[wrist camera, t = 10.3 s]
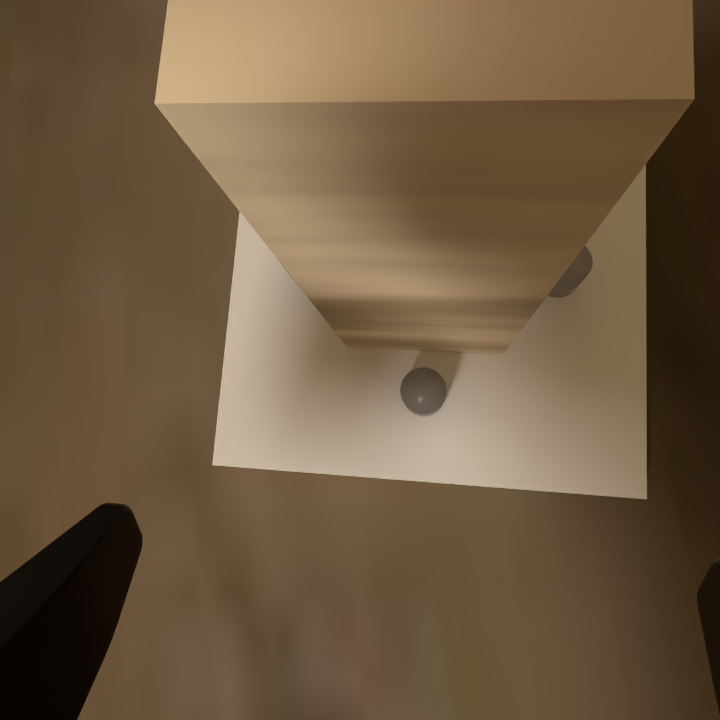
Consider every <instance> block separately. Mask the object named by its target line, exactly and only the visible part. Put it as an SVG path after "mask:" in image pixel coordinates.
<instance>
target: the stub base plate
mask: <svg viewBox="0 0 720 720" xmlns="http://www.w3.org/2000/svg"><path fill="white" fill-rule="evenodd" d="M212 465H218V466H231V467H244V468H256V469H269V470H282V471H294V472H307V473H320V474H332V475H345V476H358V477H370V478H383V479H396V480H409V481H421V482H434V483H447V484H459V485H472V486H485V487H497V488H510V489H523V490H535V491H548V492H561V493H574V494H586V495H599V496H612V497H624V498H637V499H647V383H646V165H645V166H644V167H643V169H642V170H641V171H640V173H639V174H638V175H637V177H636V178H635V179H634V181H633V182H632V183H631V185H630V186H629V187H628V189H627V190H626V191H625V193H624V194H623V195H622V197H621V198H620V199H619V201H618V202H617V203H616V205H615V206H614V207H613V209H612V210H611V211H610V213H609V214H608V215H607V217H606V218H605V219H604V221H603V222H602V223H601V225H600V226H599V227H598V229H597V230H596V231H595V233H594V234H593V235H592V237H591V238H590V239H589V241H588V242H587V243H586V245H585V246H584V247H583V249H582V250H581V251H580V253H579V254H578V255H577V257H576V258H575V259H574V261H573V262H572V263H571V265H570V266H569V267H568V269H567V270H566V271H565V273H564V274H563V275H562V277H561V278H560V279H559V281H558V282H557V283H556V285H555V286H554V287H553V289H552V290H551V291H550V293H549V294H548V295H547V297H546V298H545V299H544V301H543V302H542V303H541V305H540V306H539V307H538V309H537V310H536V311H535V313H534V314H533V315H532V317H531V318H530V319H529V321H528V322H527V323H526V325H525V326H524V327H523V329H522V330H521V331H520V333H519V334H518V336H517V337H516V338H515V340H514V341H513V342H512V344H511V345H510V346H509V348H508V349H507V350H506V352H505V353H504V354H503V355H499V354H478V353H456V352H435V351H414V350H392V349H371V348H350V347H347V346H346V345H345V344H344V343H343V341H342V340H341V339H340V337H339V336H338V335H337V334H336V332H335V331H334V330H333V329H332V327H331V326H330V325H329V324H328V322H327V321H326V320H325V319H324V317H323V316H322V315H321V313H320V312H319V311H318V310H317V308H316V307H315V306H314V305H313V303H312V302H311V301H310V300H309V298H308V297H307V296H306V295H305V293H304V292H303V291H302V289H301V288H300V287H299V286H298V284H297V283H296V282H295V281H294V279H293V278H292V277H291V276H290V274H289V273H288V272H287V270H286V269H285V268H284V267H283V265H282V264H281V263H280V262H279V260H278V259H277V258H276V257H275V255H274V254H273V253H272V252H271V250H270V249H269V248H268V246H267V245H266V244H265V243H264V241H263V240H262V239H261V238H260V236H259V235H258V234H257V233H256V231H255V230H254V229H253V227H252V226H251V225H250V224H249V222H248V221H247V220H246V219H245V217H244V216H243V215H242V214H241V212H240V214H239V223H238V232H237V242H236V251H235V260H234V269H233V279H232V288H231V297H230V307H229V316H228V325H227V334H226V344H225V353H224V362H223V371H222V381H221V390H220V399H219V408H218V418H217V427H216V436H215V445H214V455H213V464H212Z"/></svg>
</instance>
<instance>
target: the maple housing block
mask: <svg viewBox="0 0 720 720" xmlns="http://www.w3.org/2000/svg"><path fill="white" fill-rule="evenodd" d="M694 99H695V91H694V42H693V0H168V6H167V13H166V21H165V29H164V36H163V44H162V51H161V59H160V66H159V74H158V81H157V89H156V96H155V105H156V106H157V107H158V109H159V110H160V111H161V112H162V114H163V115H164V116H165V117H166V119H167V120H168V121H169V123H170V124H171V125H172V126H173V128H174V129H175V130H176V131H177V133H178V134H179V135H180V136H181V138H182V139H183V140H184V142H185V143H186V144H187V145H188V147H189V148H190V149H191V150H192V152H193V153H194V154H195V155H196V157H197V158H198V159H199V160H200V162H201V163H202V164H203V166H204V167H205V168H206V169H207V171H208V172H209V173H210V174H211V176H212V177H213V178H214V179H215V181H216V182H217V183H218V184H219V186H220V187H221V188H222V190H223V191H224V192H225V193H226V195H227V196H228V197H229V198H230V200H231V201H232V202H233V203H234V205H235V206H236V207H237V209H238V210H239V211H240V212H241V214H242V215H243V216H244V217H245V219H246V220H247V221H248V222H249V224H250V225H251V226H252V227H253V229H254V230H255V231H256V233H257V234H258V235H259V236H260V238H261V239H262V240H263V241H264V243H265V244H266V245H267V246H268V248H269V249H270V250H271V252H272V253H273V254H274V255H275V257H276V258H277V259H278V260H279V262H280V263H281V264H282V265H283V267H284V268H285V269H286V270H287V272H288V273H289V274H290V276H291V277H292V278H293V279H294V281H295V282H296V283H297V284H298V286H299V287H300V288H301V289H302V291H303V292H304V293H305V295H306V296H307V297H308V298H309V300H310V301H311V302H312V303H313V305H314V306H315V307H316V308H317V310H318V311H319V312H320V313H321V315H322V316H323V317H324V319H325V320H326V321H327V322H328V324H329V325H330V326H331V327H332V329H333V330H334V331H335V332H336V334H337V335H338V336H339V337H340V339H341V340H342V341H343V343H344V344H345V345H346V346H347V347H350V348H371V349H392V350H414V351H435V352H456V353H478V354H499V355H503V354H504V353H505V352H506V350H507V349H508V348H509V346H510V345H511V344H512V342H513V341H514V340H515V338H516V337H517V336H518V334H519V333H520V331H521V330H522V329H523V327H524V326H525V325H526V323H527V322H528V321H529V319H530V318H531V317H532V315H533V314H534V313H535V311H536V310H537V309H538V307H539V306H540V305H541V303H542V302H543V301H544V299H545V298H546V297H547V295H548V294H549V293H550V291H551V290H552V289H553V287H554V286H555V285H556V283H557V282H558V281H559V279H560V278H561V277H562V275H563V274H564V273H565V271H566V270H567V269H568V267H569V266H570V265H571V263H572V262H573V261H574V259H575V258H576V257H577V255H578V254H579V253H580V251H581V250H582V249H583V247H584V246H585V245H586V243H587V242H588V241H589V239H590V238H591V237H592V235H593V234H594V233H595V231H596V230H597V229H598V227H599V226H600V225H601V223H602V222H603V221H604V219H605V218H606V217H607V215H608V214H609V213H610V211H611V210H612V209H613V207H614V206H615V205H616V203H617V202H618V201H619V199H620V198H621V197H622V195H623V194H624V193H625V191H626V190H627V189H628V187H629V186H630V185H631V183H632V182H633V181H634V179H635V178H636V177H637V175H638V174H639V173H640V171H641V170H642V169H643V167H644V166H645V165H646V163H647V162H648V161H649V159H650V158H651V157H652V155H653V154H654V153H655V151H656V150H657V149H658V147H659V146H660V145H661V143H662V142H663V141H664V139H665V138H666V136H667V135H668V134H669V132H670V131H671V130H672V128H673V127H674V126H675V124H676V123H677V122H678V120H679V119H680V118H681V116H682V115H683V114H684V112H685V111H686V110H687V108H688V107H689V106H690V104H691V103H692V102H693V100H694Z"/></svg>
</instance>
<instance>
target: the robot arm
mask: <svg viewBox="0 0 720 720" xmlns="http://www.w3.org/2000/svg"><path fill="white" fill-rule="evenodd" d="M142 541H143V540H142V534H141V531H140V529H139V526H138V524H137V521H136V519H135V516H134V514H133V511H132V509H131V508H130V507H129V506H128V505H125V504H115V503H105V504H102V505H100V506H99V507H97V508H96V509H95V510H93V511H92V512H91V513H89V514H88V515H87V516H86V517H84V518H83V519H82V520H80V521H79V522H78V523H76V524H75V525H74V526H73V527H71V528H70V529H69V530H67V531H66V532H65V533H63V534H62V535H61V536H60V537H58V538H57V539H56V540H54V541H53V542H52V543H50V544H49V545H48V546H47V547H45V548H44V549H43V550H41V551H40V552H39V553H37V554H36V555H35V556H34V557H32V558H31V559H30V560H28V561H27V562H26V563H25V564H23V565H22V566H21V567H19V568H18V569H17V570H15V571H14V572H13V573H12V574H10V575H9V576H8V577H6V578H5V579H4V580H2V581H1V582H0V720H77V719H78V717H79V714H80V712H81V710H82V707H83V705H84V703H85V701H86V698H87V696H88V694H89V692H90V689H91V687H92V685H93V682H94V680H95V678H96V676H97V673H98V671H99V669H100V666H101V664H102V662H103V660H104V657H105V655H106V653H107V650H108V648H109V645H110V643H111V641H112V638H113V635H114V632H115V629H116V627H117V624H118V621H119V617H120V614H121V611H122V608H123V605H124V602H125V599H126V596H127V593H128V590H129V586H130V583H131V580H132V577H133V574H134V571H135V568H136V565H137V562H138V559H139V556H140V552H141V549H142ZM697 604H698V610H699V615H700V620H701V625H702V630H703V635H704V640H705V645H706V650H707V655H708V660H709V665H710V670H711V675H712V680H713V685H714V690H715V695H716V700H717V704H718V708H719V713H720V558H717V559H715V560H714V561H713V563H712V564H711V566H710V568H709V570H708V572H707V574H706V576H705V578H704V579H703V581H702V583H701V585H700V587H699V589H698V594H697Z"/></svg>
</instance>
